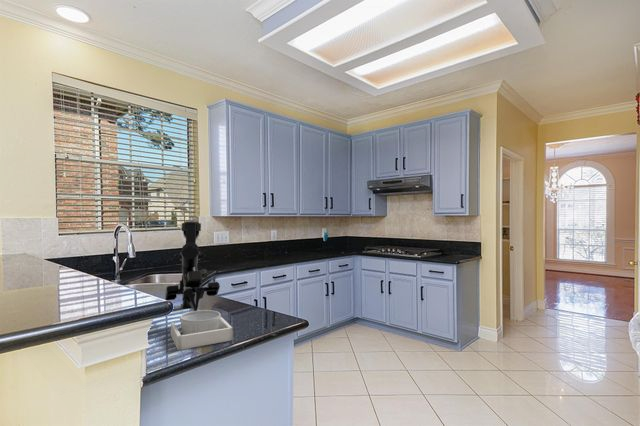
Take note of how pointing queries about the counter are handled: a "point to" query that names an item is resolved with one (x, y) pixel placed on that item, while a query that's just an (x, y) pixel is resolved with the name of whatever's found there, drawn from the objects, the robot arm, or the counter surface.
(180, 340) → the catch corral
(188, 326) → the ramekin
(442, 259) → the counter surface
